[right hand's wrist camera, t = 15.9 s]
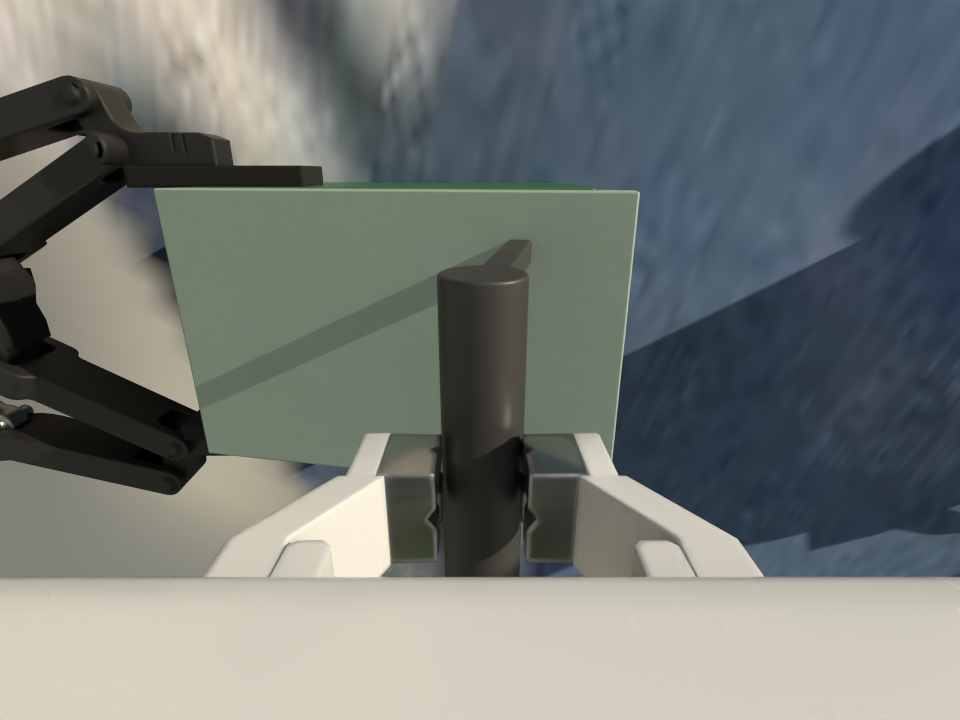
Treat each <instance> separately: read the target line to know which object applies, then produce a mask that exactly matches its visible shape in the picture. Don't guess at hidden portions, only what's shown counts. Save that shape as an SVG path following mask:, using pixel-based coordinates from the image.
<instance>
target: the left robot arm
mask: <svg viewBox="0 0 960 720" xmlns="http://www.w3.org/2000/svg"><path fill="white" fill-rule="evenodd" d="M131 111H132V104H131V100H130V98H129V96H128V95H127V93H126V92H124V91H123V90H122V89H121V88H118V87H115V86H110V85H106V84H102V83H98V82H94V81H90V80H85V79H81V78H77V77H73V76H61V77H58V78H55V79H53V80H50V81H47V82H44V83H41V84H38V85H35V86H32V87H30V88H27V89H24V90H21V91H18V92H15V93H12V94H9V95H7V96H4V97H1V98H0V161H2V160H5V159H8V158H11V157H14V156H17V155H20V154H23V153H25V152H28V151H31V150H34V149H37V148H40V147H43V146H46V145H49V144H52V143H55V142H58V141H61V140H64V139H67V138H70V137H73V136H76V135H79V136H86V137H85V139H83V140H82V141H81V142H79V143H78V144H76V145H75V146H74V147H72V148H71V149H70V150H68V151H67V152H65V153H64V154H63V155H61V156H60V157H59V158H57V159H56V160H54V161H53V162H52V163H50V164H49V165H48V166H46V167H45V168H43V169H42V170H41V171H39V172H38V173H37V174H35V175H34V176H33V177H31V178H30V179H28V180H27V181H26V182H24V183H23V184H22V185H20V186H19V187H17V188H16V189H15V190H13V191H12V192H10V193H9V194H8V195H6V196H5V197H4V198H2V199H1V200H0V395H1V396H3V397H6V398H9V399H14V400H23V399H30V400H34V401H36V402H38V403H41V404H43V405H46V406H48V407H50V408H52V409H55V410H57V411H59V412H61V413H64V414H66V415H68V416H71V417H73V418H70V417H65V416H61V415H55V414H47V413H34V412H33V409H32V407H30V406H29V405H22V406H20V407H17V406H13V405H7V404H5V403H3V402H1V401H0V461H5V460H12V461H17V462H21V463H26V464H30V465H35V466H39V467H44V468H49V469H53V470H58V471H62V472H67V473H72V474H76V475H80V476H85V477H90V478H94V479H98V480H103V481H107V482H112V483H116V484H121V485H126V486H130V487H135V488H139V489H144V490H148V491H153V492H157V493H162V494H166V495H173V494H176V493H178V492H179V491H180V490H181V489H182V488H183V487H184V485H185V484H186V483H187V482H188V481H189V480H190V479H191V478H192V477H193V476H194V475H195V474H196V472H197V471H198V470H199V469H200V468H201V467H202V466H203V465H204V464H205V462H206V456H229V455H224V454H214V453H209V451H208V446H207V441H206V436H205V432H204V427H203V422H202V417H201V413H200V410H199V411H195V410H192V409H190V408H188V407H186V406H184V405H182V404H179V403H177V402H175V401H173V400H171V399H168V398H166V397H164V396H162V395H160V394H157V393H155V392H153V391H151V390H149V389H147V388H144V387H142V386H140V385H138V384H136V383H133V382H131V381H129V380H127V379H125V378H123V377H120V376H118V375H116V374H114V373H112V372H109V371H107V370H105V369H103V368H101V367H99V366H96V365H94V364H92V363H90V362H87V361H85V360H83V359H81V358H80V357H79V356H78V351H77V350H76V349H74V348H72V347H70V346H68V345H66V344H64V343H62V342H59V341H57V340H55V339H53V338H51V337H49V336H51V334H50V331H49V328H48V324H47V321H46V319H45V317H44V315H43V314H42V312H41V310H40V309H39V307H38V305H37V303H36V285H35V282H34V279H33V275H32V272H31V269H30V268H23V267H22V265H21V264H20V263H21V262H22V261H24V260H25V259H27V258H28V257H29V256H31V255H32V254H34V253H35V252H37V251H38V250H39V249H41V248H42V247H44V246H45V245H46V244H47V242H46V240H47V239H48V238H50V237H51V236H53V235H54V234H56V233H57V232H59V231H60V230H61V229H63V228H64V227H66V226H67V225H69V224H70V223H71V222H73V221H74V220H76V219H77V218H79V217H80V216H82V215H83V214H84V213H86V212H87V211H89V210H90V209H92V208H93V207H95V206H96V205H97V204H99V203H100V202H102V201H103V200H105V199H106V198H107V197H109V196H110V195H112V194H113V193H115V192H116V191H118V190H119V189H120V188H122V187H123V186H125V185H126V184H127V187H306V186H318V185H323V176H322V167H320V166H233V160H232V153H231V147H230V141H229V140H227V139H224V138H222V137H219V136H217V135H211V134H204V133H147V132H145V131H144V130H142V129H141V128H140V127H139V126H138V124H137V123H136V122H135V120H134V118H133V116H132V114H131ZM74 418H75V419H74Z"/></svg>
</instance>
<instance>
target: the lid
mask: <svg viewBox="0 0 960 720" xmlns="http://www.w3.org/2000/svg"><path fill="white" fill-rule="evenodd" d="M154 194H155V199H156V204H157V208H158V213H159V218H160V223H161V227H162V232H163V237H164V242H165V246H166V251H167V256H168V261H169V265H170V270H171V275H172V280H173V284H174V289H175V294H176V299H177V303H178V308H179V313H180V318H181V322H182V327H183V332H184V337H185V341H186V346H187V351H188V356H189V360H190V365H191V370H192V375H193V379H194V384H195V389H196V394H197V398H198V403H199V408H200V413H201V417H202V422H203V427H204V432H205V436H206V441H207V446H208V451H209V453H214V454H224V455H233V456H243V457H252V458H262V459H271V460H280V461H290V462H299V463H309V464H318V465H328V466H337V467H347V468H349V467H350V465H351V462H352V460H353V458H354V456H355V453H356V451H357V449H358V447H359V444H360V442H361V440H362V438H363V436H364V435H365V434H367V433H391V434H392V433H406V434H442V447H443V458H442V466H441V472H442V473H443V478H444V499H443V508H444V542H445V576H446V577H519V565H520V536H521V513H520V473H521V472H522V463H521V455H520V453H521V436H522V435H523V434H552V433H572V434H576V433H598V434H599V435H600V437H601V439H602V442H603V444H604V446H605V448H606V450H607V452H608V454H609V456H610V459H611V461H612V456H613V446H614V437H615V427H616V417H617V408H618V398H619V388H620V379H621V369H622V359H623V350H624V340H625V330H626V321H627V311H628V301H629V292H630V282H631V272H632V263H633V253H634V243H635V234H636V224H637V214H638V205H639V195H640V193H639V192H637V191H634V190H480V189H309V188H157V189H154Z"/></svg>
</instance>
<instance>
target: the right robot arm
mask: <svg viewBox="0 0 960 720" xmlns="http://www.w3.org/2000/svg"><path fill="white" fill-rule="evenodd" d="M520 455H521V463H522V472H521V473H520V513H521V521H522V522H523V523H524V527H523V539H524V547H525V554H526V562H546V563H573V566H574V567H575V568H576V569H577V570H578V571H579V572H580V573H581V574H582V575H583V577H381V576H382V575H383V573H384V572H385V571H386V570H387V569H388V568H389V567H390V566H391V563H416V562H437V560H438V552H439V543H440V523H441V522H442V516H443V499H444V478H443V473H442V472H441V466H442V458H443V447H442V434H406V433H392V434H391V433H367V434H365V435H364V436H363V438H362V440H361V442H360V444H359V447H358V449H357V451H356V453H355V456H354V458H353V460H352V462H351V465H350V467H349V469H348V471H347V473H346V476H337V477H335V478H333V479H332V480H330V481H328V482H326V483H325V484H323V485H321V486H319V487H318V488H316V489H314V490H312V491H310V492H309V493H307V494H305V495H303V496H302V497H300V498H298V499H296V500H295V501H293V502H291V503H289V504H288V505H286V506H284V507H282V508H281V509H279V510H277V511H275V512H274V513H272V514H270V515H268V516H267V517H265V518H263V519H261V520H260V521H258V522H256V523H254V524H253V525H251V526H249V527H247V528H246V529H244V530H242V531H240V532H239V533H237V534H235V535H233V536H232V537H230V538H228V540H227V541H226V543H225V544H224V545H223V547H222V548H221V550H220V551H219V553H218V554H217V555H216V557H215V558H214V560H213V561H212V563H211V564H210V566H209V567H208V568H207V570H206V571H205V573H204V574H203V576H202V577H0V720H960V577H764V576H763V575H762V573H761V572H760V570H759V569H758V568H757V566H756V565H755V563H754V562H753V560H752V559H751V558H750V556H749V555H748V553H747V552H746V550H745V549H744V548H743V546H742V545H741V543H740V542H739V540H738V539H737V538H735V537H733V536H731V535H730V534H728V533H726V532H724V531H722V530H721V529H719V528H717V527H715V526H714V525H712V524H710V523H708V522H707V521H705V520H703V519H701V518H700V517H698V516H696V515H694V514H692V513H691V512H689V511H687V510H685V509H684V508H682V507H680V506H678V505H677V504H675V503H673V502H671V501H670V500H668V499H666V498H664V497H663V496H661V495H659V494H657V493H655V492H654V491H652V490H650V489H648V488H647V487H645V486H643V485H641V484H640V483H638V482H636V481H634V480H633V479H631V478H629V477H627V476H618V473H617V471H616V469H615V467H614V465H613V463H612V461H611V459H610V456H609V454H608V452H607V450H606V448H605V446H604V444H603V442H602V439H601V437H600V435H599V434H598V433H576V434H572V433H552V434H523V435H522V436H521V453H520Z"/></svg>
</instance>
